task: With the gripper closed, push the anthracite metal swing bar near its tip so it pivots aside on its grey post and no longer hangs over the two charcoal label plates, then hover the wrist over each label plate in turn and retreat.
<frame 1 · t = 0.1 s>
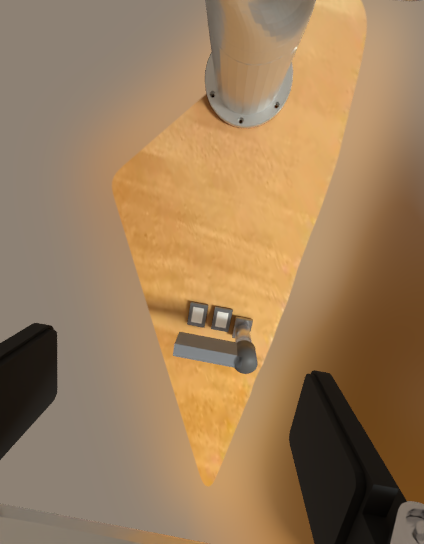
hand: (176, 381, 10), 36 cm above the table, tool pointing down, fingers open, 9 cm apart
bar post: (242, 327, 49), on the table
label plate A: (197, 314, 48), on the table
label plate B: (221, 318, 48), on the table
swing bar: (215, 350, 39), point 10 cm above the table, hinge at 0.0°
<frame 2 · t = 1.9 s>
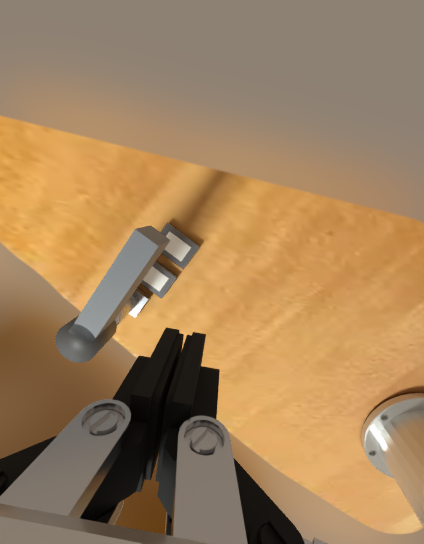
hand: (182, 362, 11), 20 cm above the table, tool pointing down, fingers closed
bar post: (130, 296, 32), on the table
label plate A: (176, 245, 30), on the table
label plate B: (154, 276, 31), on the table
swing bar: (114, 294, 21), point 10 cm above the table, hinge at 0.0°
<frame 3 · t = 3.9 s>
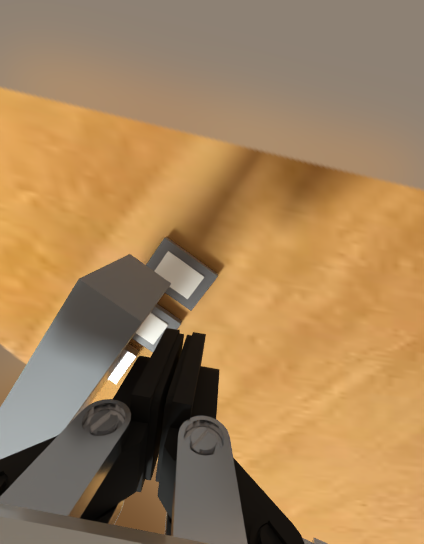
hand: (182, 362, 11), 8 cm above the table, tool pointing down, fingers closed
bar post: (108, 350, 20), on the table
label plate A: (179, 273, 18), on the table
label plate B: (145, 320, 20), on the table
swing bar: (53, 401, 10), point 9 cm above the table, hinge at 0.0°, touching gripper
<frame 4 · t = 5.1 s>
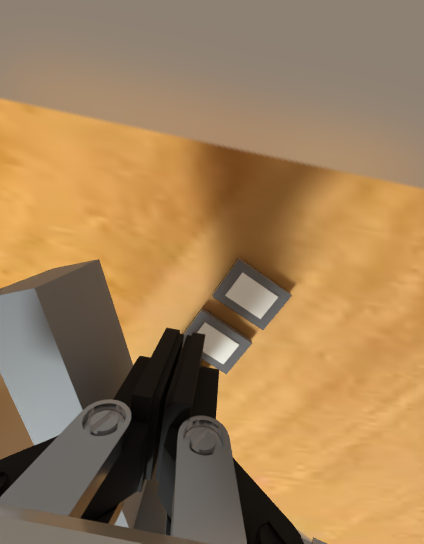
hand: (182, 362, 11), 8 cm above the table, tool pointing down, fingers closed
label plate A: (250, 293, 18), on the table
label plate B: (214, 339, 20), on the table
swing bar: (101, 424, 10), point 10 cm above the table, hinge at 46.4°, touching gripper
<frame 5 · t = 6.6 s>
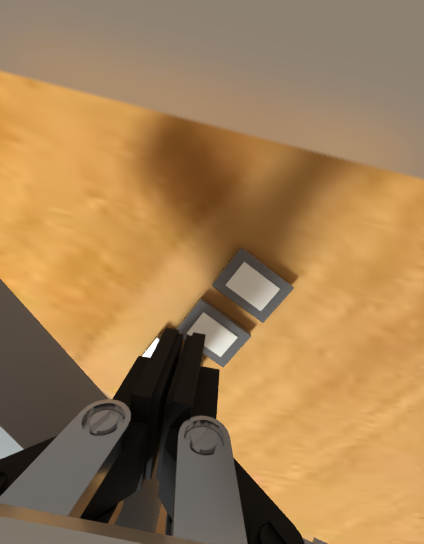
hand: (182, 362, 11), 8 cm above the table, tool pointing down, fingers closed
label plate A: (251, 284, 18), on the table
label plate B: (212, 331, 19), on the table
swing bar: (46, 421, 10), point 9 cm above the table, hinge at 72.0°
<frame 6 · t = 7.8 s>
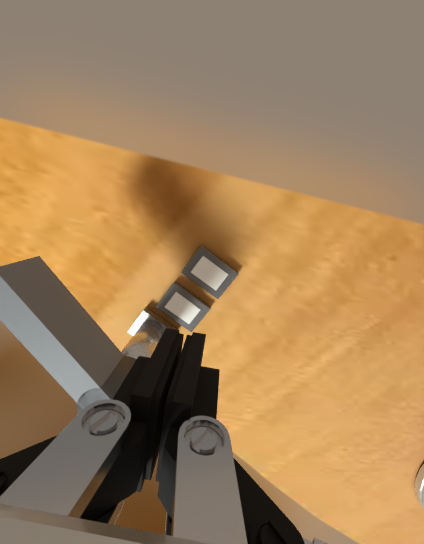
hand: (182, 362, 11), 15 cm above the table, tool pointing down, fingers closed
bar post: (154, 328, 27), on the table
label plate A: (209, 271, 25), on the table
label plate B: (183, 306, 26), on the table
swing bar: (73, 343, 17), point 9 cm above the table, hinge at 72.0°
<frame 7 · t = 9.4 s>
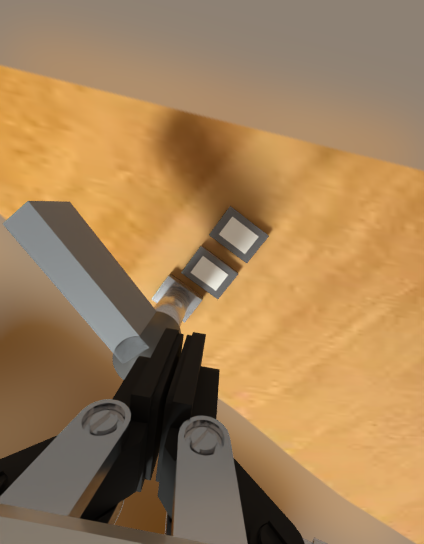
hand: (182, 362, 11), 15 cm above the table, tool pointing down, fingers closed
bar post: (178, 296, 26), on the table
label plate A: (238, 234, 24), on the table
label plate B: (209, 272, 25), on the table
swing bar: (106, 293, 16), point 9 cm above the table, hinge at 72.0°
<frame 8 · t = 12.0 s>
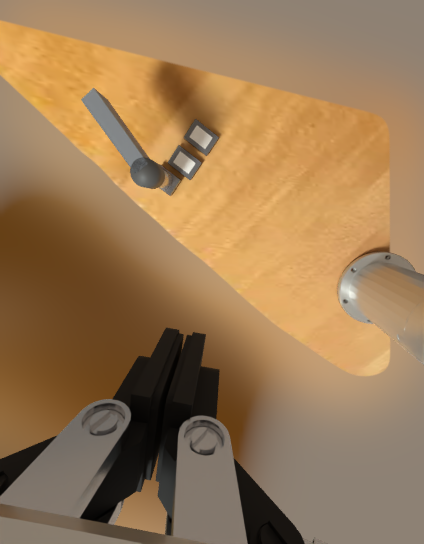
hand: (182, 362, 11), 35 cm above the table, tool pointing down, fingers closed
bar post: (166, 180, 43), on the table
label plate A: (201, 138, 41), on the table
label plate B: (184, 163, 42), on the table
swing bar: (126, 143, 33), point 9 cm above the table, hinge at 72.0°
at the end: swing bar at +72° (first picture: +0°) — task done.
